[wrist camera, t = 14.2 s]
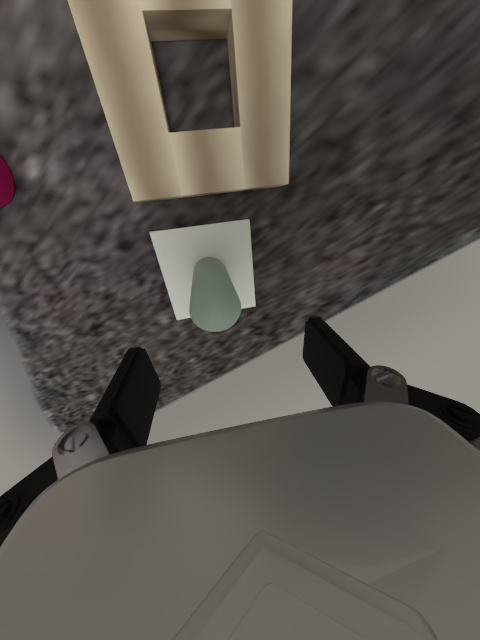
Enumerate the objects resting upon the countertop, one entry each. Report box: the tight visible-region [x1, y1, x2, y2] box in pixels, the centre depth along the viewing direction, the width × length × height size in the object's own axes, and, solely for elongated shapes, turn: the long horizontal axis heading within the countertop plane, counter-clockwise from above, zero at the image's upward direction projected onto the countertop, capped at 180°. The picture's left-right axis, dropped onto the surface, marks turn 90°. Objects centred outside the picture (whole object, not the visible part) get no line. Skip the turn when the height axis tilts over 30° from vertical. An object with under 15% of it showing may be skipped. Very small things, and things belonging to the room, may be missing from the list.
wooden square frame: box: [68, 0, 292, 202], centre depth 17 cm, size 16×16×3 cm
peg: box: [189, 257, 241, 332], centre depth 22 cm, size 4×4×11 cm
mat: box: [149, 219, 256, 320], centre depth 27 cm, size 12×12×1 cm
